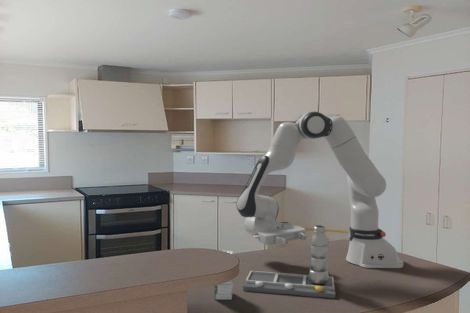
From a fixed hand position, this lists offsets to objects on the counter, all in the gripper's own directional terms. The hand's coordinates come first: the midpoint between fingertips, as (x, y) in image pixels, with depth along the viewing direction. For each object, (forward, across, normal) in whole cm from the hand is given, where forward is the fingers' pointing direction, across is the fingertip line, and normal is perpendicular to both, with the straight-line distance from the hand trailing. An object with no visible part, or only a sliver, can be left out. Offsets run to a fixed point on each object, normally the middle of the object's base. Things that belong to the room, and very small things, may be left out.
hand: (296, 239), depth 146 cm
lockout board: (+6, -8, +14) cm, 17 cm away
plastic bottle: (+12, 0, +13) cm, 17 cm away
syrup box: (+1, -32, +14) cm, 35 cm away
